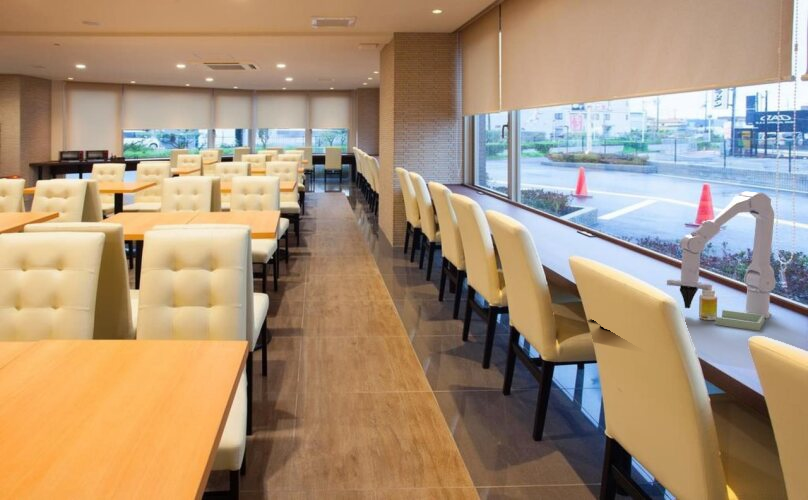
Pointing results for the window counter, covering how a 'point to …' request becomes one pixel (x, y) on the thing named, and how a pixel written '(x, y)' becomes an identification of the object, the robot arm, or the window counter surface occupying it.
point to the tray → (740, 323)
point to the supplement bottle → (708, 305)
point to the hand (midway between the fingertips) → (687, 307)
